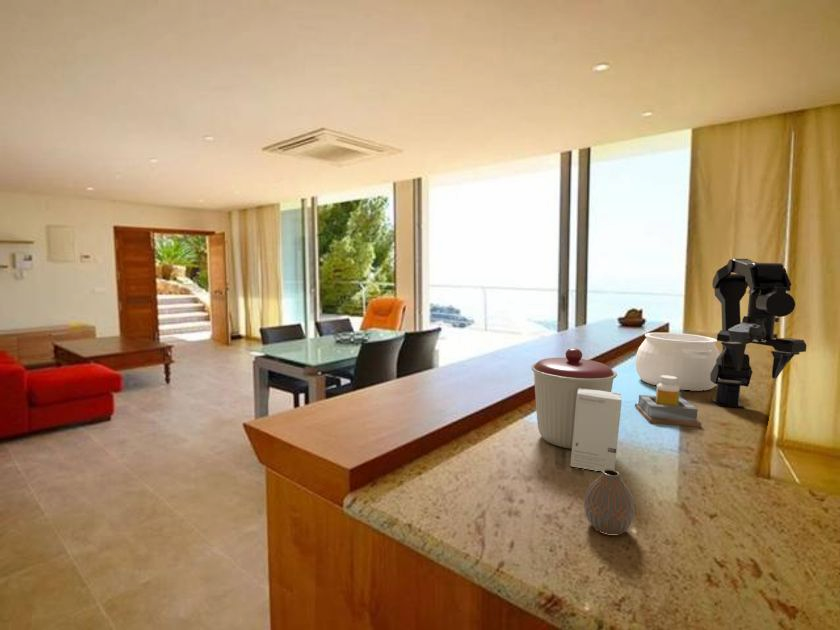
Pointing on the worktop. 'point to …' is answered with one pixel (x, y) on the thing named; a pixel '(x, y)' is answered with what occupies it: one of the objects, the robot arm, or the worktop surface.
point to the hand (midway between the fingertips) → (755, 374)
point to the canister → (565, 392)
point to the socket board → (667, 412)
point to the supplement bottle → (667, 391)
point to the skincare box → (595, 429)
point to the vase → (609, 503)
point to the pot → (678, 359)
